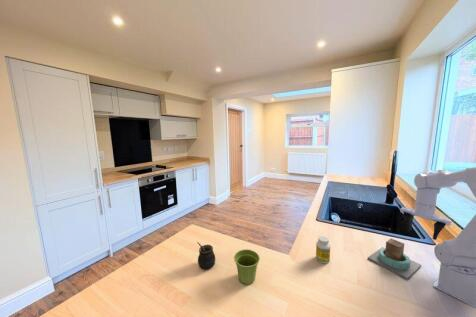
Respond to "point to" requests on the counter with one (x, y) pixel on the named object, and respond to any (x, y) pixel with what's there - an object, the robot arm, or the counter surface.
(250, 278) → the plant pot
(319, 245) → the supplement bottle
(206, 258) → the mate gourd
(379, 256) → the collar
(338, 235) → the counter surface
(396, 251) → the walnut peg
